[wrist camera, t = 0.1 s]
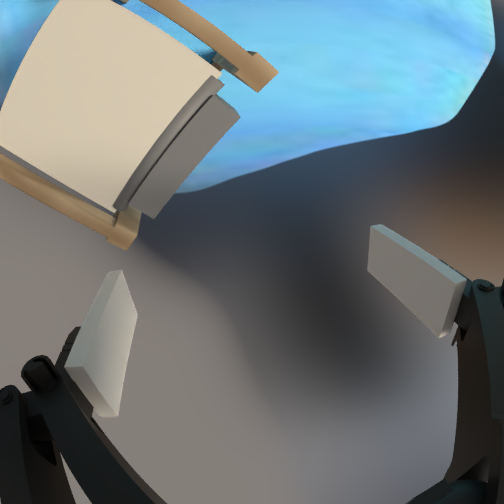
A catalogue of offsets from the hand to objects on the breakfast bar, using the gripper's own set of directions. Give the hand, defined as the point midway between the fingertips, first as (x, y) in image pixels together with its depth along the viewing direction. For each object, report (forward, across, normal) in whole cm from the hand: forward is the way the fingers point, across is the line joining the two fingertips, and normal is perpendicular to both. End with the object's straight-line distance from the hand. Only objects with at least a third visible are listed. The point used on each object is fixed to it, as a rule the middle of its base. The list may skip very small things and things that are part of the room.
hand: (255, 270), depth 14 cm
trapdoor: (+9, -8, +11) cm, 16 cm away
